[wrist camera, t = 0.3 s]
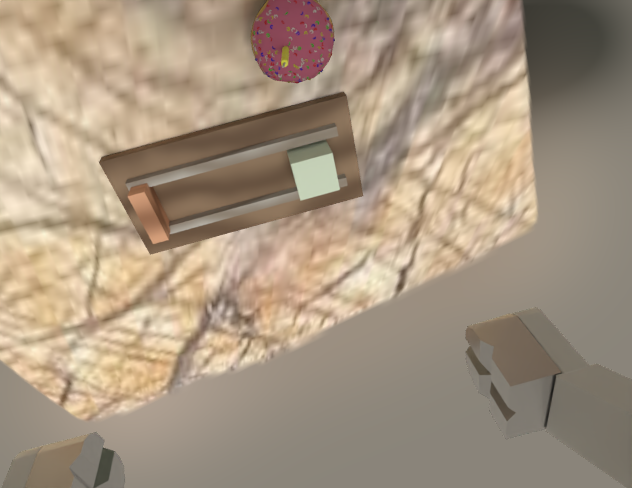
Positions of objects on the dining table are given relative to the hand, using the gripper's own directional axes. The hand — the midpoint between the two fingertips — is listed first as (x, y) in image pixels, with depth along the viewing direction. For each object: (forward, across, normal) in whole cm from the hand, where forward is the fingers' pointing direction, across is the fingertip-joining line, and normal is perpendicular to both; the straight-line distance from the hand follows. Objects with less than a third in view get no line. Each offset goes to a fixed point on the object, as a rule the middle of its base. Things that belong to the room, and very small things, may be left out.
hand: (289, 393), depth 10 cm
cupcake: (+47, -6, +1) cm, 47 cm away
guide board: (+47, +4, +16) cm, 50 cm away
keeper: (+45, -4, +16) cm, 48 cm away
